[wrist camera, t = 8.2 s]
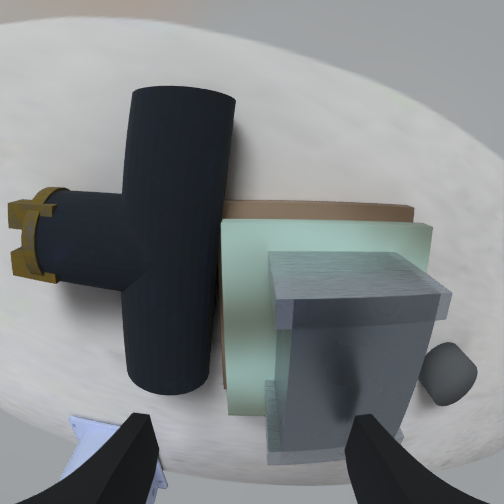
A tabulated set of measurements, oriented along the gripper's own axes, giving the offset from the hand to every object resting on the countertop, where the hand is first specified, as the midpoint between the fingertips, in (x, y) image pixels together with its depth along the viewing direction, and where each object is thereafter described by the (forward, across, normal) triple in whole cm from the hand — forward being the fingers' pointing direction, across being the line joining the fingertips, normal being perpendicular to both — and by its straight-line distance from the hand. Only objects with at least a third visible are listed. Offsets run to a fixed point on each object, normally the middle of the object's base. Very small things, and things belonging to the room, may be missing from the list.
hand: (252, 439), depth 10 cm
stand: (+10, -4, -1) cm, 11 cm away
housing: (+6, -4, -1) cm, 7 cm away
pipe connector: (+10, +7, -5) cm, 14 cm away
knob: (+10, -15, +5) cm, 18 cm away
